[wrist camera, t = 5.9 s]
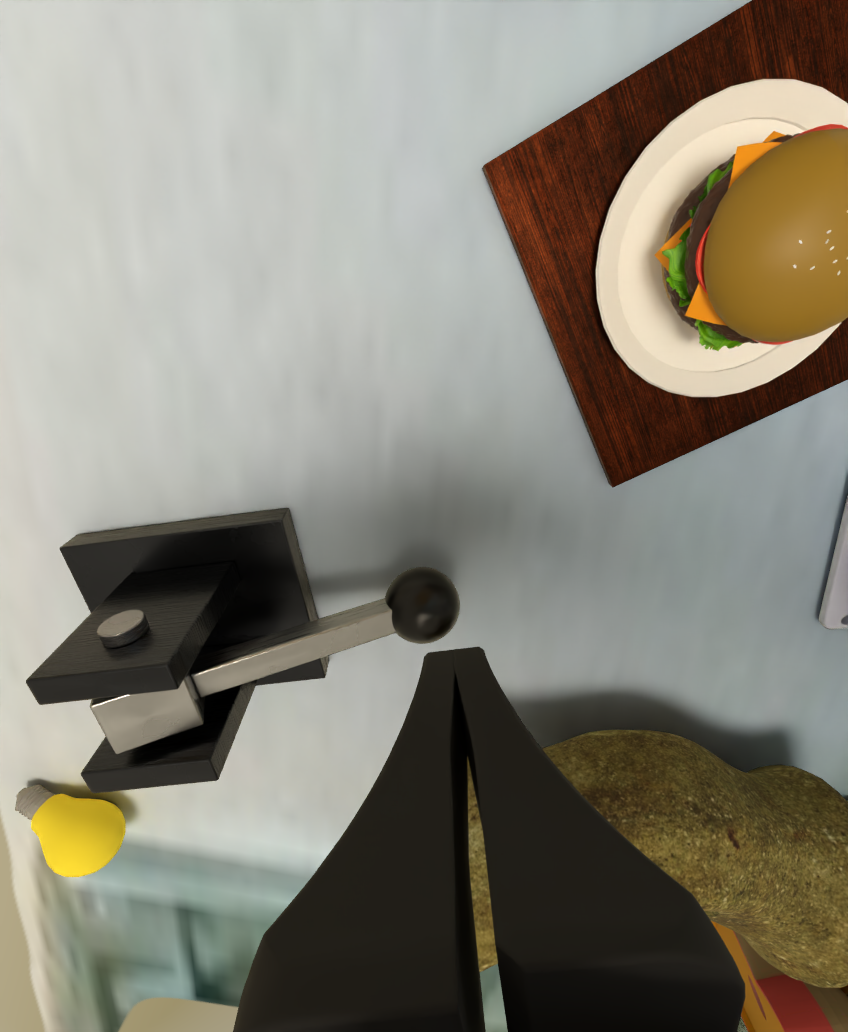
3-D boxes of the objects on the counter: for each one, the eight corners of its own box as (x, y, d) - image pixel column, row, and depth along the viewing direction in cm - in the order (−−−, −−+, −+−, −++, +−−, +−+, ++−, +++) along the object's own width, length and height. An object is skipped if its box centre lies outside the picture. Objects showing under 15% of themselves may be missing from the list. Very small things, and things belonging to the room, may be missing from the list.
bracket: (289, 507, 21) (229, 613, 14) (329, 660, 24) (296, 804, 18) (76, 534, 21) (-78, 650, 15) (145, 681, 25) (45, 829, 18)
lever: (438, 546, 21) (468, 579, 19) (446, 605, 23) (475, 644, 20) (100, 646, 18) (80, 703, 15) (132, 708, 19) (118, 771, 17)
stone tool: (765, 872, 29) (809, 710, 27) (928, 1066, 20) (1007, 843, 19) (409, 847, 27) (434, 674, 26) (417, 1046, 19) (455, 800, 17)
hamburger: (608, 483, 21) (670, 548, 16) (482, 168, 16) (511, 118, 11) (927, 335, 18) (1118, 357, 13) (885, -80, 14) (1149, -282, 9)
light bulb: (147, 808, 28) (129, 847, 29) (57, 747, 28) (43, 789, 29) (96, 865, 24) (78, 906, 26) (-5, 796, 25) (-18, 840, 26)
